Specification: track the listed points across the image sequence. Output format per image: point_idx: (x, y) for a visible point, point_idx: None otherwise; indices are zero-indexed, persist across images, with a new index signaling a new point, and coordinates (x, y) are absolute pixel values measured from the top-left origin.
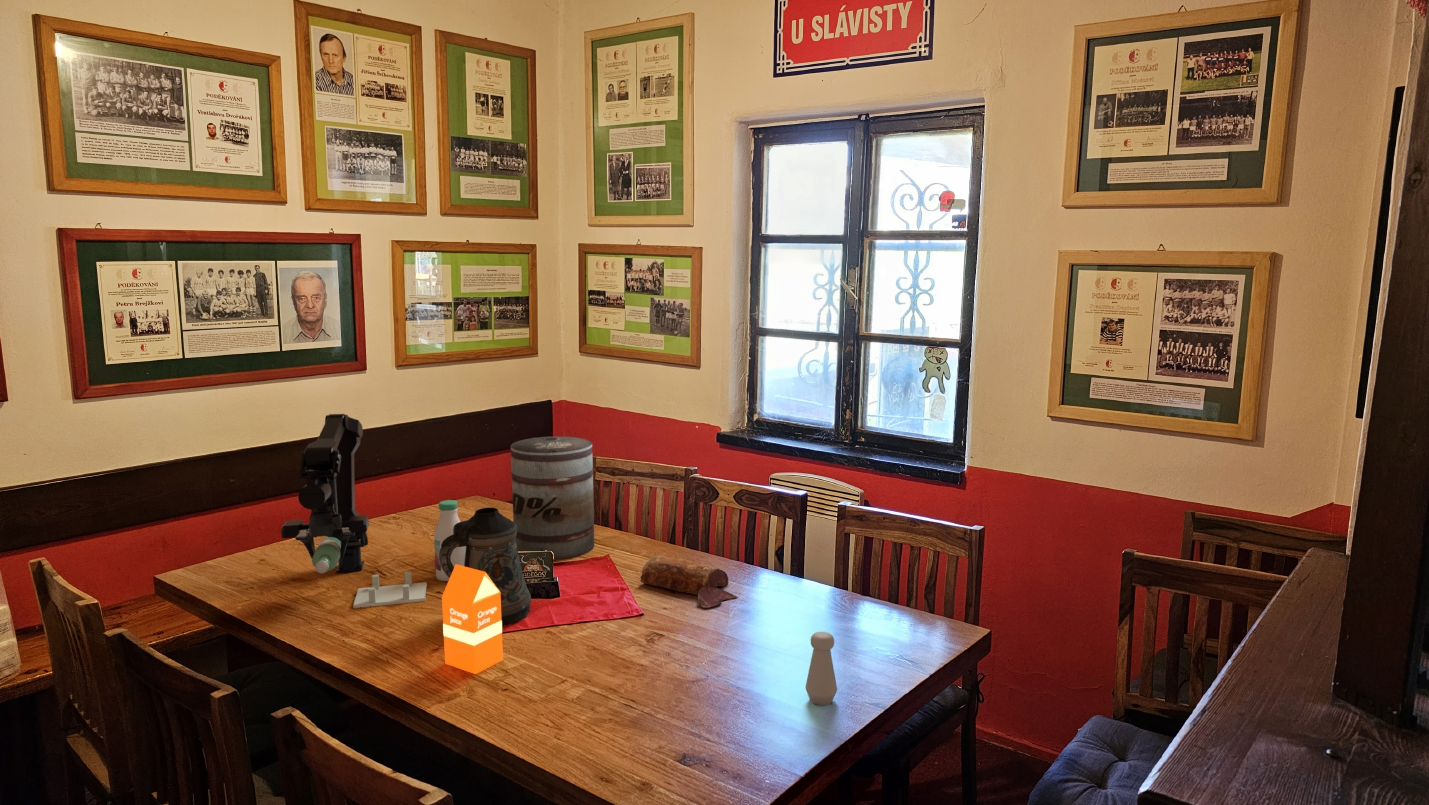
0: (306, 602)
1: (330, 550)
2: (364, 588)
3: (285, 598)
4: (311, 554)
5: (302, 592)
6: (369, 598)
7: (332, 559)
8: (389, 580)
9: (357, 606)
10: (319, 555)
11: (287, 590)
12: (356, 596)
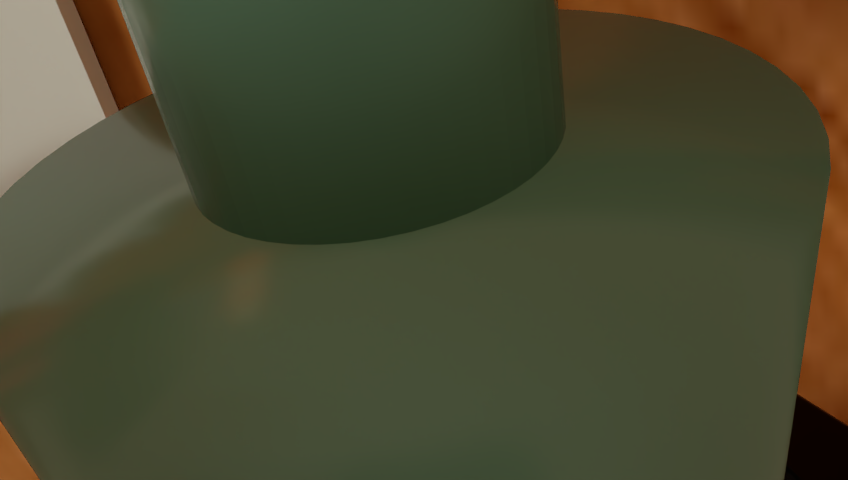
0: (621, 10)
1: (101, 397)
2: None
3: (836, 134)
4: (835, 448)
5: None
6: None
7: (153, 185)
8: (28, 470)
9: None
10: (584, 188)
11: (828, 306)
12: (73, 57)
